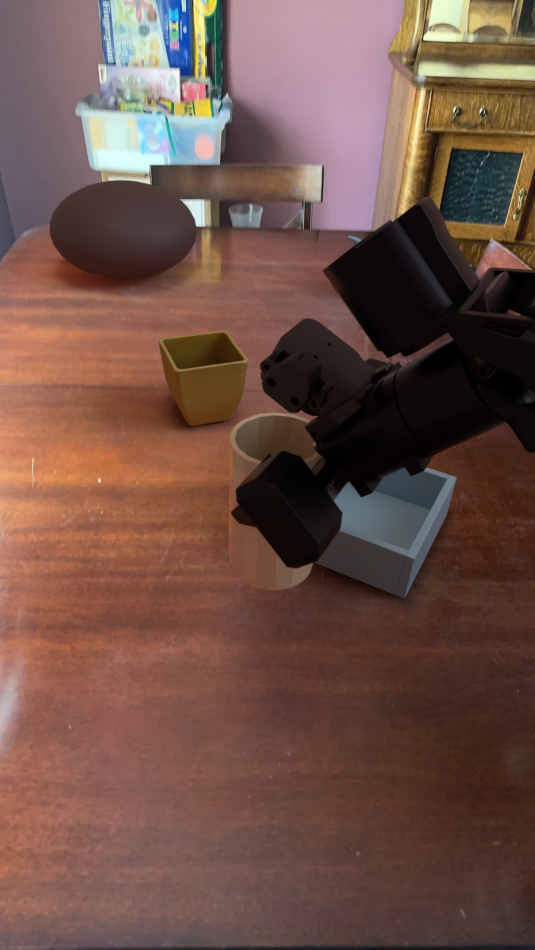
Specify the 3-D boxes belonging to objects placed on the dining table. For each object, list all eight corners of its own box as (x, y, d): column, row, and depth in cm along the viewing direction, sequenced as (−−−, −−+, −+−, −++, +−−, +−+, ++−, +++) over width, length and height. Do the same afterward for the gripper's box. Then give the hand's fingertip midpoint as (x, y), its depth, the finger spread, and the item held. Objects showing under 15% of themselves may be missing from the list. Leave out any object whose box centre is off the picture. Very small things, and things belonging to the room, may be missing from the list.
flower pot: (161, 401, 87) (157, 337, 81) (225, 391, 89) (226, 328, 84) (178, 438, 80) (175, 371, 75) (247, 426, 83) (249, 361, 77)
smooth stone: (46, 255, 126) (32, 169, 117) (175, 243, 134) (172, 162, 125) (69, 306, 108) (55, 211, 99) (216, 289, 117) (216, 199, 108)
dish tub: (446, 515, 71) (457, 476, 68) (404, 599, 61) (414, 558, 58) (320, 471, 76) (325, 434, 73) (263, 542, 67) (266, 502, 64)
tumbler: (330, 567, 55) (346, 445, 47) (263, 604, 51) (269, 478, 44) (278, 521, 59) (285, 403, 52) (213, 552, 55) (211, 431, 48)
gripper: (402, 252, 46) (256, 356, 57) (272, 360, 33) (114, 469, 44) (489, 384, 48) (332, 461, 59) (400, 536, 35) (218, 600, 45)
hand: (259, 490), depth 52 cm, fingers closed on tumbler, 7 cm apart
